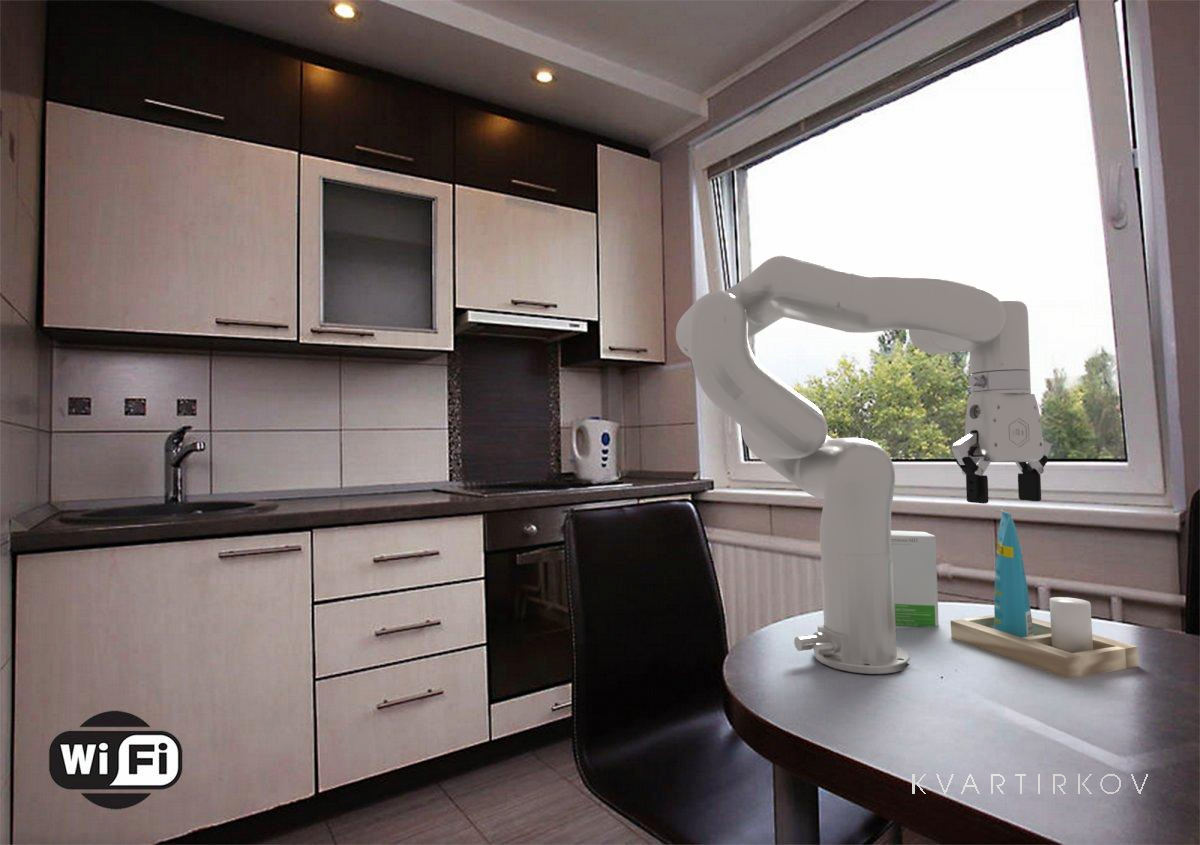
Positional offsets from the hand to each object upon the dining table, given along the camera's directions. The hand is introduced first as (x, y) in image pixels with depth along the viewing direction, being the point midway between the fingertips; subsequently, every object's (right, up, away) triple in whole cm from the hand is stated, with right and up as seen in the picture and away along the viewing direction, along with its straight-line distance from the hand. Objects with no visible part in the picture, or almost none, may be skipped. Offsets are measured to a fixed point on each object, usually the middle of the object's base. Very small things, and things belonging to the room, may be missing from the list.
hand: (1004, 501), depth 93 cm
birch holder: (+2, -21, -4) cm, 22 cm away
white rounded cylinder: (+3, -20, -9) cm, 22 cm away
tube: (+1, -21, -1) cm, 21 cm away
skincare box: (-8, -23, +13) cm, 27 cm away
